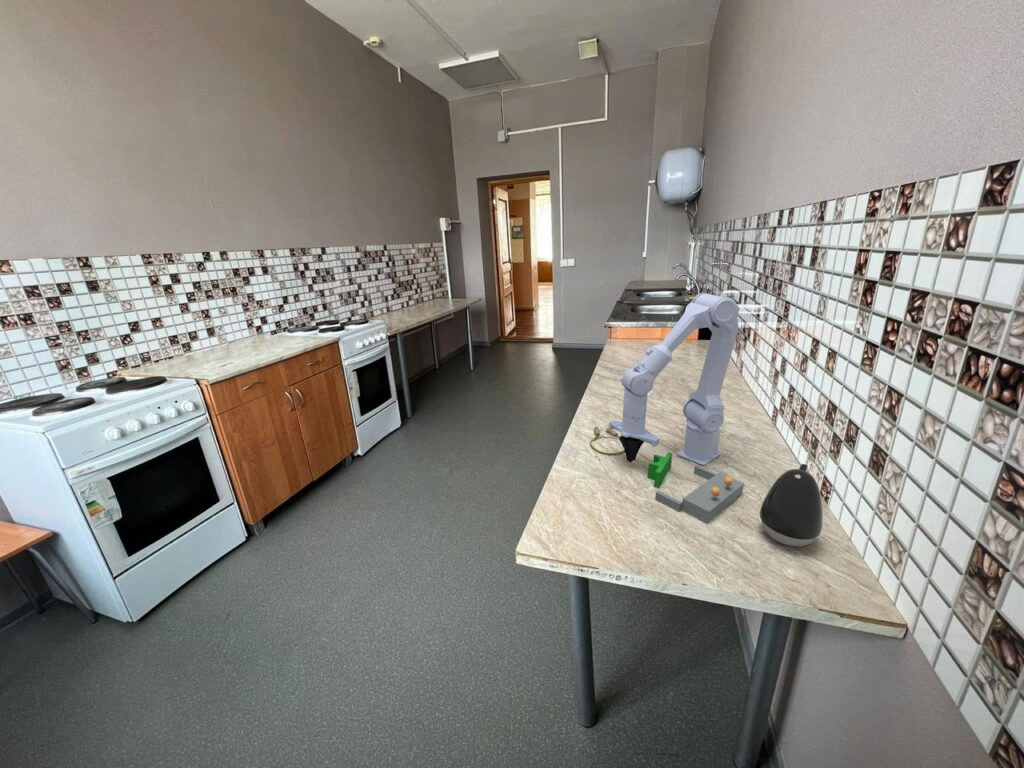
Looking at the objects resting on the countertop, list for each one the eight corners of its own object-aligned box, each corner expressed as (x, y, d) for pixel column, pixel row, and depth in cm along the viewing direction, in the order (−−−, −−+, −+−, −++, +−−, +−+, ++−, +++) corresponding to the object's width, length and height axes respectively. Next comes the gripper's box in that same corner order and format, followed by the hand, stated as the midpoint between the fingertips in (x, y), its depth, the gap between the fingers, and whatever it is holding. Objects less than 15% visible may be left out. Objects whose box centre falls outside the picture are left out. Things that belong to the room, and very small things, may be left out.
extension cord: (633, 435, 126) (634, 429, 125) (625, 460, 113) (626, 453, 112) (594, 430, 131) (595, 424, 130) (582, 452, 117) (582, 446, 117)
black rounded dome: (820, 533, 82) (837, 468, 77) (812, 563, 75) (831, 493, 70) (763, 513, 89) (775, 451, 84) (750, 538, 81) (764, 473, 76)
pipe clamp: (656, 464, 110) (658, 449, 108) (670, 468, 107) (672, 453, 106) (643, 484, 101) (644, 468, 99) (658, 488, 99) (660, 472, 97)
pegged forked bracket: (695, 471, 105) (698, 452, 103) (744, 492, 96) (748, 471, 94) (655, 499, 95) (657, 478, 93) (705, 525, 86) (708, 502, 84)
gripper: (602, 410, 108) (600, 455, 113) (649, 427, 97) (645, 476, 102) (619, 403, 112) (616, 446, 117) (666, 419, 101) (661, 466, 106)
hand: (630, 460), depth 110 cm, fingers closed
